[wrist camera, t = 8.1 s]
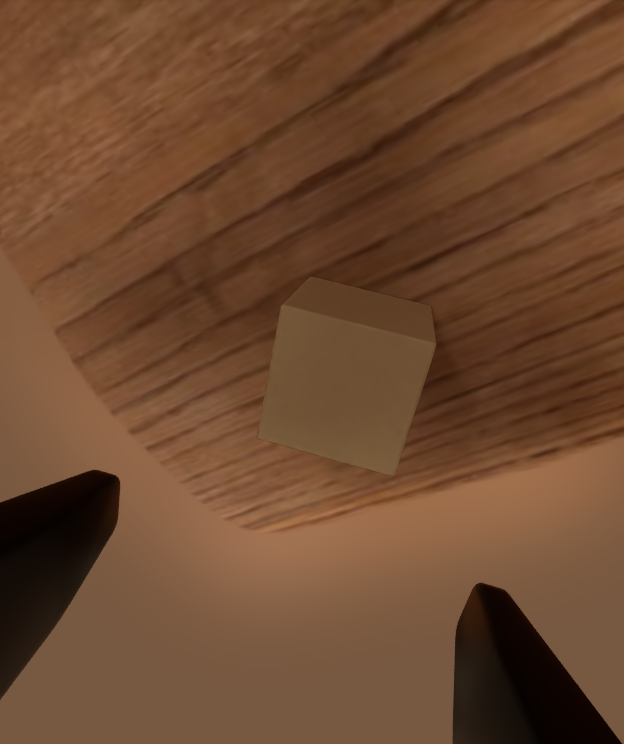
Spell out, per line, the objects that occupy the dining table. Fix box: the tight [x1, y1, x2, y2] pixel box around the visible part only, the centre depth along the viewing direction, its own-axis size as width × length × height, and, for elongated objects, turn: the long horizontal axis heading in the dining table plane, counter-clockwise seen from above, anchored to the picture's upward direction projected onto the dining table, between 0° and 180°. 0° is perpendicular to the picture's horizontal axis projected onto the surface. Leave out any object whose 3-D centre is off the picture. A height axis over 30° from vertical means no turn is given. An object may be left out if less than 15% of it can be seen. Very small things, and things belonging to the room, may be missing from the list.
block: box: [257, 277, 437, 476], centre depth 15 cm, size 4×4×4 cm
